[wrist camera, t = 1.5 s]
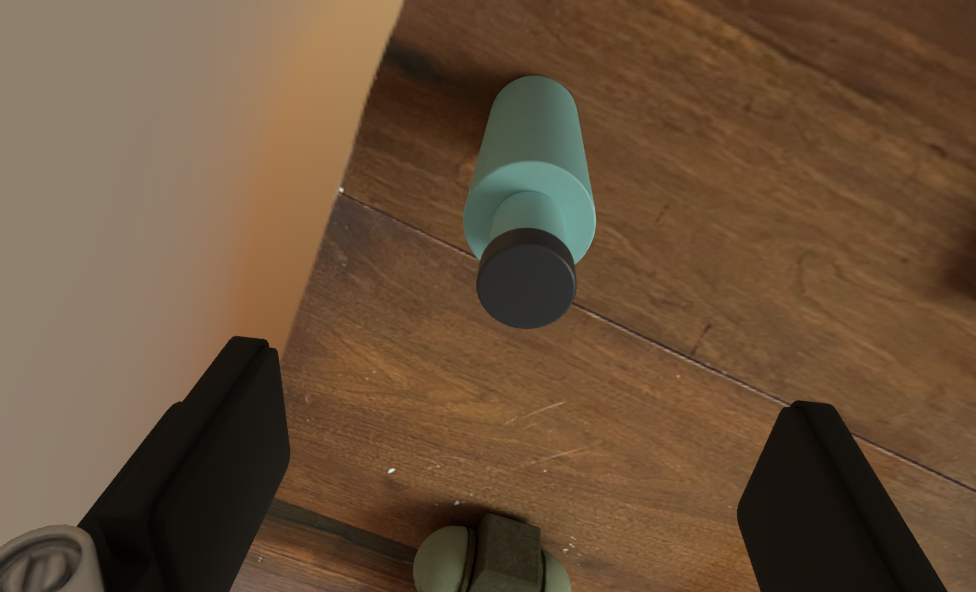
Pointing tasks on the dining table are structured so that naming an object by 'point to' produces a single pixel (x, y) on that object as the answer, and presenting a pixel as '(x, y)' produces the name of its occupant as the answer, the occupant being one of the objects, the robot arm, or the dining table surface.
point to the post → (488, 560)
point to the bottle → (530, 204)
